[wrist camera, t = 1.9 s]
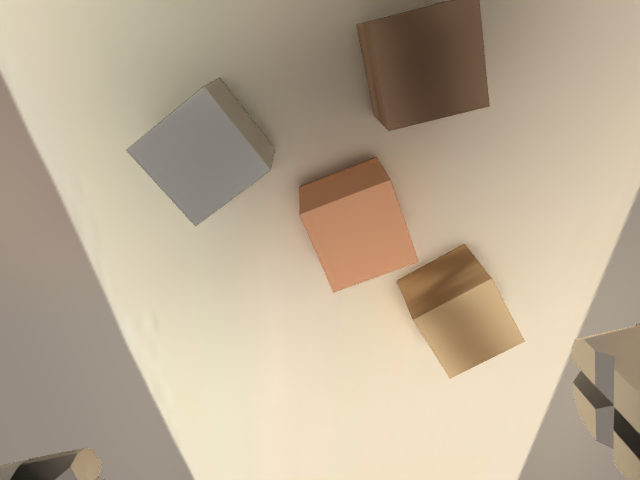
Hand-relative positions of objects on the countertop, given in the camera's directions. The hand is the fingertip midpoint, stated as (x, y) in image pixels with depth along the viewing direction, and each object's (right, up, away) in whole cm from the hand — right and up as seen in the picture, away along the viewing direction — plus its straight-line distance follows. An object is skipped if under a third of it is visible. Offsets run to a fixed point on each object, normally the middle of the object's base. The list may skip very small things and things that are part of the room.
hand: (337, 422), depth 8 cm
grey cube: (-6, +9, +20) cm, 23 cm away
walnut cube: (+5, +13, +19) cm, 24 cm away
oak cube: (+8, 0, +25) cm, 26 cm away
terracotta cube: (+2, +5, +22) cm, 23 cm away
